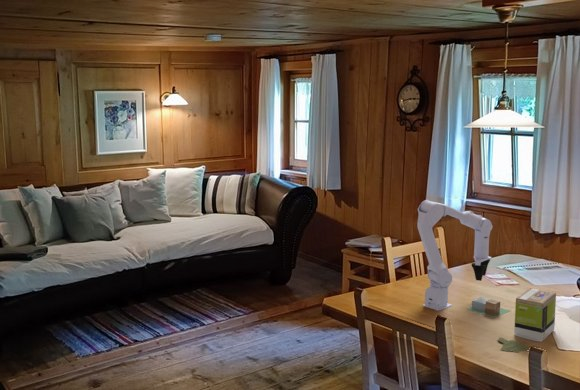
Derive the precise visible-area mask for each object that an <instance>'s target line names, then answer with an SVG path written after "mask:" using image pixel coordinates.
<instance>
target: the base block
mask: <svg viewBox="0 0 580 390" xmlns="http://www.w3.org/2000/svg"><path fill="white" fill-rule="evenodd" d="M488 300H489V299H488V298H485V297H478V298H475V299H473V300H471V307H472V308H475V309H479V310H482V311H485V307H486V301H488Z"/></svg>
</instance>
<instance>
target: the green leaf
mask: <svg viewBox="0 0 580 390" xmlns="http://www.w3.org/2000/svg"><path fill="white" fill-rule="evenodd" d="M497 341H499V342H500V343H502V346H501V348H500V350H501V351H505V352H509V351H510V352H513V353H516V354H518V353H521V352H524V351H525V352H528V351H527V350H529V348H531V347H530V345H526V344H524V343H521V342H518V341H516V340H513V339H510V340H507V339H505V338H503V337H498V339H497Z"/></svg>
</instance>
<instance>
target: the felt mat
mask: <svg viewBox="0 0 580 390" xmlns="http://www.w3.org/2000/svg"><path fill="white" fill-rule="evenodd" d="M466 310H468V311H471V312H474V313H477V314H481V315H484V316H488V317H490V318H494V319H495V318H497V317H499V316H502V315H504V314H507V313H509V312H511V310H509V309H506V308H502V307H500V314H498V315H496V316H492V315H489V314H485V311H482V310H479V309H475V308H472V306H470V307H467V308H466Z"/></svg>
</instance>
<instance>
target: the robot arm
mask: <svg viewBox="0 0 580 390" xmlns="http://www.w3.org/2000/svg"><path fill="white" fill-rule="evenodd" d="M417 212H418V216H417V223H416V225H417V227H416V228H417V230H418V231H417V232H418V233H419V237H420V239H421V242H422V246H423V249H424V252H425V255H426V259H427V261H428V265H427V267H426V268H427V278H428V279H429V283H430V284H429V287H427V288H426V289H425V291H424V304H422V307H425V308H429V309H432V310H435V311H441V310H445V309H447V308H450V307H452V306H453V305H452V304H451V303H448V302H449V287H450V285H451V283H452V282H453V275H452V273H450V271H449V270H448V268H447V266H446V265H445V263H444V262H443V259H442V256H441V252H440V249H439V247H438V243H437V240H436V236H435V234H434V230H433V227H434V226H435V225H436V224H437V223H438V222H439V221H440V220H441V219H442V217H446V216H450V217H453V218H455V219H457V220H459V222H460V224H461V225H464V226H466V227H469V228H471V229H473V230H474V244H473V245H474V247H473V249H474V250H473V259H474V262H471V267H472V269H473V273H474V277H475V281H482V279H483V277H485V276H486V273H487V271H488V270H487V269H488V265H489V263H490V261H491V260H492V256H489V252H490V249H489V247H490V246H489V245H490V235H491V231H492V230H493V228H494V227H493V225H492V224H493V223H492V222H491V220H490V219H488V218H485V217H483V215H480V214H475V213H474V211H472V210H465V211H461V210H458V209H456V208H454V207H452V206H449V205H447V204H444V203H440V202H436V201H431V200H429V199H425V200H423V201H422V202H421V203H420V204H419V206H418V208H417Z"/></svg>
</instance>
